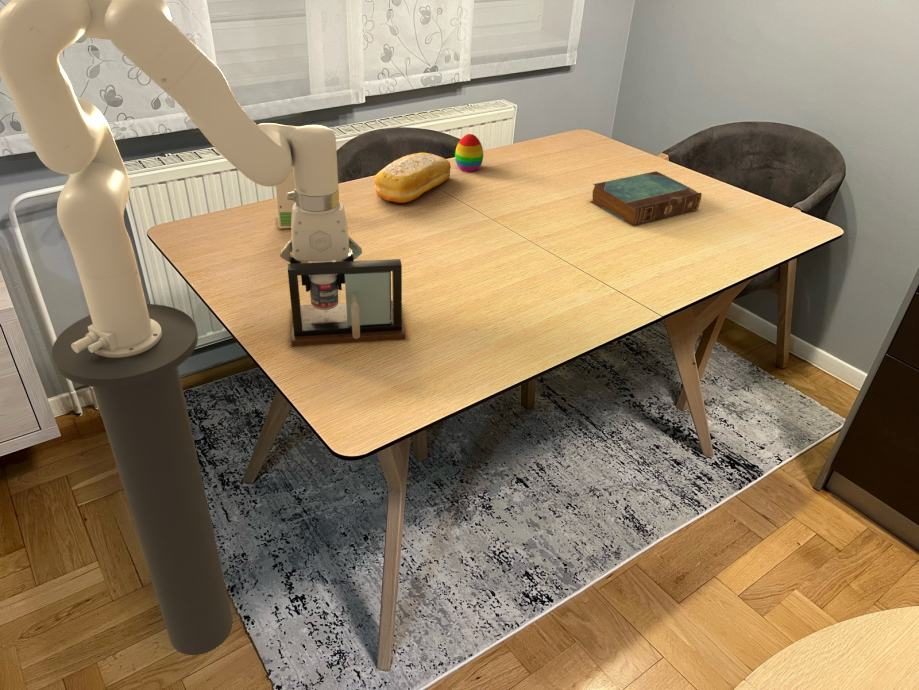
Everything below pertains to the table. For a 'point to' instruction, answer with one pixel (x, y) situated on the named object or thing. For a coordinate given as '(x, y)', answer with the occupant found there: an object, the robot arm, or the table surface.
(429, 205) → the table surface
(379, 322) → the pane
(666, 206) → the book
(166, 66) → the robot arm
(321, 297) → the pill bottle
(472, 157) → the decorative egg
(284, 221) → the cosmetic box
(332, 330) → the window frame
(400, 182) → the bread
